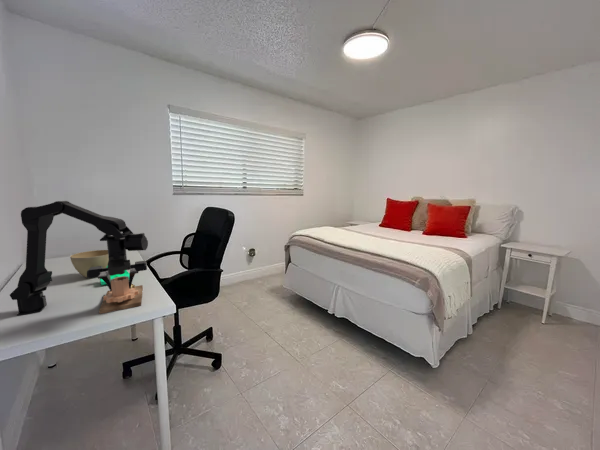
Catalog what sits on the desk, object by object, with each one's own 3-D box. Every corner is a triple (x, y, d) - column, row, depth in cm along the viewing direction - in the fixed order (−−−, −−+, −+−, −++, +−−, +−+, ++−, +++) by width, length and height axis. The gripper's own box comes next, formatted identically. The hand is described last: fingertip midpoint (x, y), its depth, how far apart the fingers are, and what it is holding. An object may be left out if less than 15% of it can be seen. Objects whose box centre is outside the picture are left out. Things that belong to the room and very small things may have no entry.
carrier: (99, 313, 92) (97, 298, 91) (108, 294, 110) (106, 280, 109) (141, 305, 98) (139, 291, 97) (142, 288, 116) (141, 275, 115)
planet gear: (101, 305, 92) (99, 286, 91) (106, 294, 101) (104, 277, 100) (137, 298, 97) (136, 280, 96) (138, 289, 107) (137, 272, 106)
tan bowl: (98, 281, 125) (95, 257, 124) (63, 281, 126) (60, 257, 124) (124, 270, 143) (122, 249, 142) (93, 270, 144) (90, 249, 142)
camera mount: (101, 287, 118) (99, 266, 117) (100, 283, 124) (98, 262, 122) (131, 281, 126) (129, 261, 125) (129, 277, 132) (127, 258, 130)
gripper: (80, 259, 85) (86, 302, 87) (144, 252, 95) (148, 291, 97) (87, 252, 95) (92, 291, 97) (145, 247, 104) (148, 282, 106)
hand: (120, 289), depth 99 cm, fingers closed on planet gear, 6 cm apart
